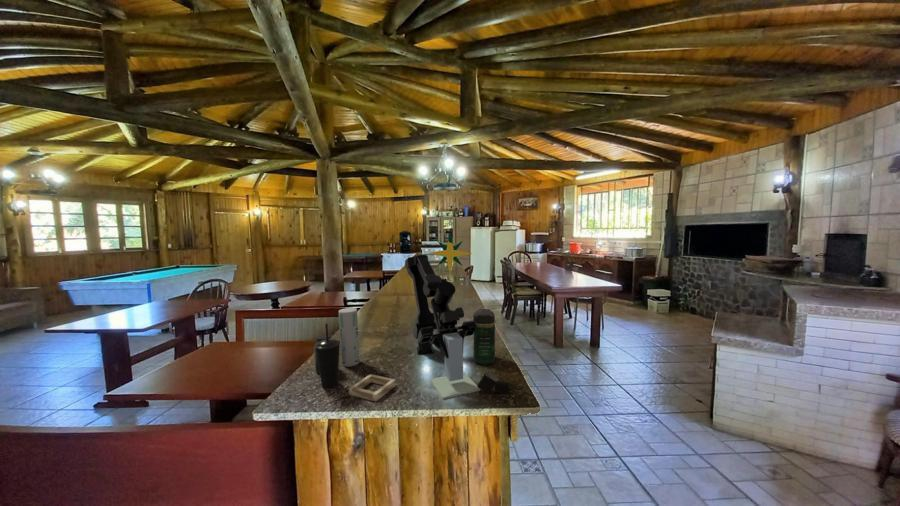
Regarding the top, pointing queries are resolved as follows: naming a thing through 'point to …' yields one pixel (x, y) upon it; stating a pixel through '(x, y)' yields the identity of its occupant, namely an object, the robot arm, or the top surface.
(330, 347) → the drinking cup
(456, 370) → the post
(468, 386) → the mat
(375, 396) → the pocket
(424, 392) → the top surface
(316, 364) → the supplement bottle
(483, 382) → the lighter
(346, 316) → the spray can
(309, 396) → the top surface
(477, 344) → the coffee jar
